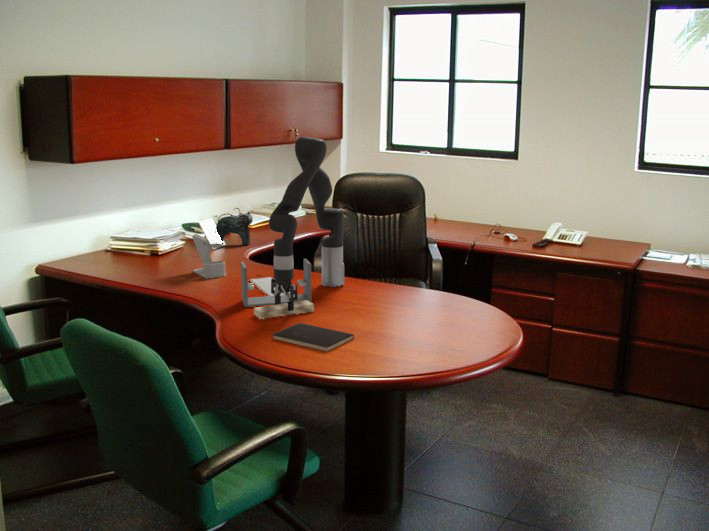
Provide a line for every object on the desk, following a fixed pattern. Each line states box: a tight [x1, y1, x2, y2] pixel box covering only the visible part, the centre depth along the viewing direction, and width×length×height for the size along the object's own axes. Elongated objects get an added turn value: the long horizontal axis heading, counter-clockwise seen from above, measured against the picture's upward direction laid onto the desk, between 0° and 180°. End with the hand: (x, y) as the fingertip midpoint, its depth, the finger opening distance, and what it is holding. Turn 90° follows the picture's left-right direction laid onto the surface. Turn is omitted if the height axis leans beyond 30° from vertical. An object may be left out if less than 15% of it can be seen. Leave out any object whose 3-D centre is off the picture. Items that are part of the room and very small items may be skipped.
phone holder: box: [191, 233, 227, 280], centre depth 350 cm, size 17×10×18 cm, turn 33°
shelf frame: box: [240, 258, 313, 308], centre depth 306 cm, size 26×10×16 cm, turn 104°
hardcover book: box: [272, 322, 355, 352], centre depth 265 cm, size 16×23×2 cm
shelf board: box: [253, 300, 315, 320], centre depth 293 cm, size 22×6×4 cm, turn 118°
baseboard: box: [247, 274, 290, 296], centre depth 327 cm, size 31×3×12 cm
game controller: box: [215, 207, 253, 247], centre depth 412 cm, size 20×6×20 cm, turn 79°
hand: (284, 308), depth 292 cm, fingers open, 8 cm apart
